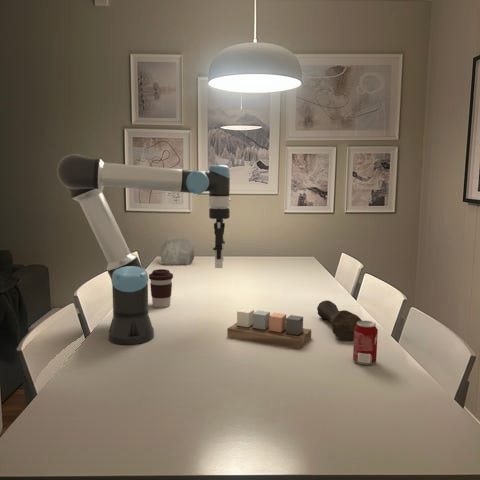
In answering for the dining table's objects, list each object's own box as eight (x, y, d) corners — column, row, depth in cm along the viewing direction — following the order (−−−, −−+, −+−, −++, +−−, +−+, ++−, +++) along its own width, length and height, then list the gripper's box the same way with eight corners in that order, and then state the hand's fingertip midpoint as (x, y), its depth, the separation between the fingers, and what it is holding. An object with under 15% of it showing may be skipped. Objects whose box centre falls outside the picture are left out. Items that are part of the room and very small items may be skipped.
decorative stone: (159, 265, 290) (163, 262, 300) (192, 266, 289) (195, 262, 299) (158, 238, 288) (162, 235, 298) (192, 238, 287) (194, 235, 297)
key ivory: (248, 327, 168) (248, 313, 167) (237, 325, 170) (237, 311, 169) (253, 323, 172) (253, 309, 171) (242, 321, 174) (242, 308, 173)
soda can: (372, 368, 142) (374, 328, 140) (349, 363, 145) (351, 324, 144) (379, 360, 147) (380, 322, 146) (357, 356, 151) (358, 318, 149)
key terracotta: (281, 332, 163) (281, 317, 162) (269, 330, 164) (269, 316, 164) (286, 328, 167) (286, 314, 166) (273, 326, 168) (274, 312, 168)
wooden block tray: (299, 349, 156) (300, 340, 156) (227, 336, 167) (227, 328, 167) (311, 337, 167) (311, 329, 167) (242, 326, 178) (242, 318, 178)
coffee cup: (168, 309, 199) (168, 273, 197) (145, 308, 201) (145, 272, 199) (176, 303, 209) (176, 268, 207) (154, 301, 211) (154, 267, 209)
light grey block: (264, 329, 165) (264, 315, 164) (252, 327, 167) (253, 313, 166) (269, 326, 169) (269, 312, 168) (257, 324, 171) (258, 310, 170)
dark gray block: (298, 335, 160) (298, 320, 159) (285, 333, 162) (286, 318, 161) (302, 331, 164) (303, 316, 163) (290, 329, 166) (290, 314, 165)
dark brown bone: (357, 348, 163) (329, 331, 191) (371, 320, 164) (341, 307, 192) (329, 334, 162) (305, 318, 190) (343, 306, 162) (318, 294, 190)
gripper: (229, 210, 168) (229, 271, 171) (229, 205, 192) (229, 258, 195) (207, 210, 168) (207, 271, 171) (210, 205, 192) (210, 258, 195)
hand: (219, 264), depth 183 cm, fingers open, 13 cm apart
